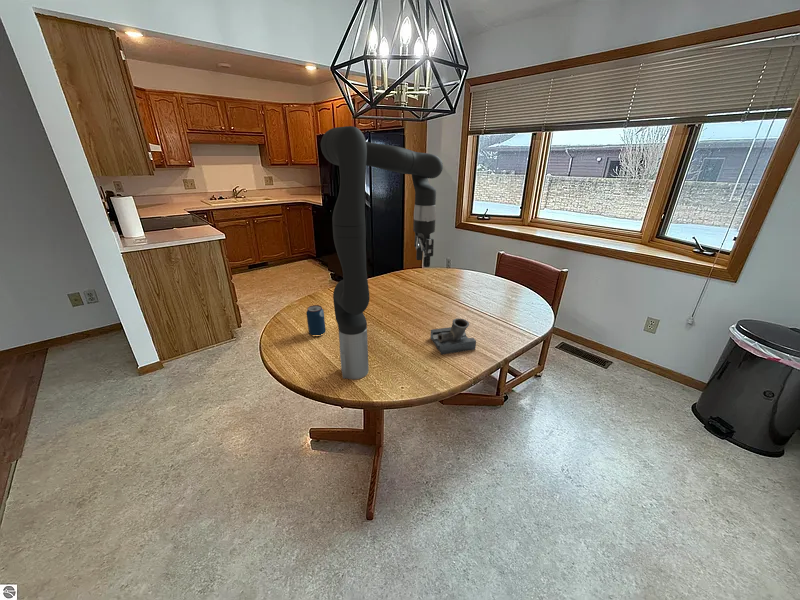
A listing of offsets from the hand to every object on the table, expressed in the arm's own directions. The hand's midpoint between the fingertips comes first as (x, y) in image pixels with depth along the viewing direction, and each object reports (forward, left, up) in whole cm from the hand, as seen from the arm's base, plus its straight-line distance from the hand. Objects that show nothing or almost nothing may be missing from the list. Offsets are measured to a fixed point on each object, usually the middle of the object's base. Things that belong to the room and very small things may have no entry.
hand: (422, 263), depth 118 cm
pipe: (+11, -6, -31) cm, 33 cm away
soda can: (-40, +16, -33) cm, 55 cm away
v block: (+12, -5, -33) cm, 35 cm away
